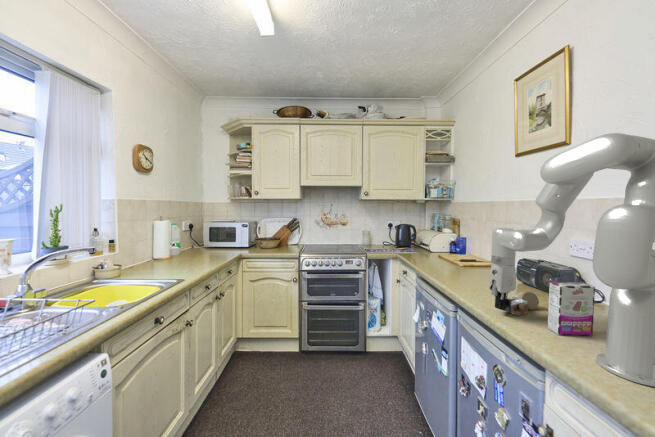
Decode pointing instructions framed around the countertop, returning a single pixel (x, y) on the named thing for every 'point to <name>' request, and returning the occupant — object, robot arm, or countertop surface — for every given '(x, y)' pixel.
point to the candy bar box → (571, 308)
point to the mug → (528, 299)
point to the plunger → (513, 304)
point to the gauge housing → (520, 309)
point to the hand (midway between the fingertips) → (500, 308)
